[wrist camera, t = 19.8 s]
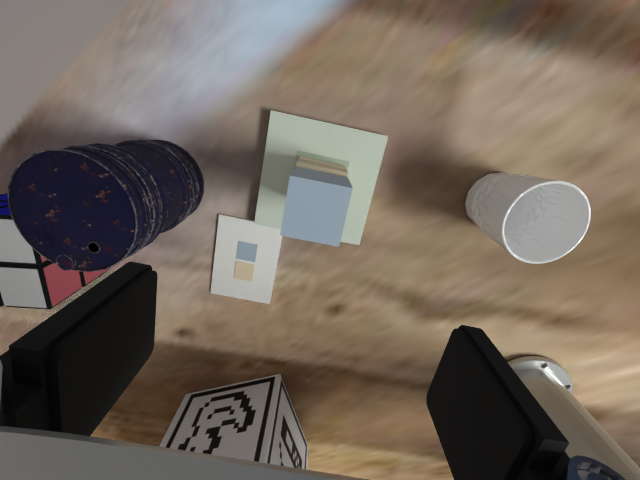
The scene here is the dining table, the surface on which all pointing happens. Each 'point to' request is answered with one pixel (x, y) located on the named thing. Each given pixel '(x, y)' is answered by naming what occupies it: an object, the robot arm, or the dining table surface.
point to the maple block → (322, 166)
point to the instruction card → (245, 259)
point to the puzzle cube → (32, 271)
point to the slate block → (316, 206)
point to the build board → (326, 145)
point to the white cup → (529, 214)
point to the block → (241, 423)
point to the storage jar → (102, 200)
